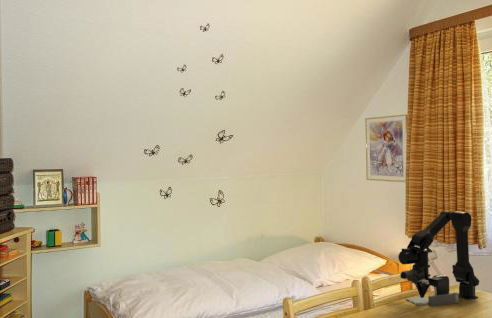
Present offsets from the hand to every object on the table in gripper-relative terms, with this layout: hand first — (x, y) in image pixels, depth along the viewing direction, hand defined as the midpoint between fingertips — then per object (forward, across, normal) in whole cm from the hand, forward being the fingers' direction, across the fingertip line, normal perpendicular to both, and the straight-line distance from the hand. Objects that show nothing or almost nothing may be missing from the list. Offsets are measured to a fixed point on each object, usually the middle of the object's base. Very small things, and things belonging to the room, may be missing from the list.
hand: (422, 297), depth 187 cm
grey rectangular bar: (+2, +6, +7) cm, 9 cm away
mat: (+2, -2, +2) cm, 4 cm away
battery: (+3, +2, +11) cm, 11 cm away
